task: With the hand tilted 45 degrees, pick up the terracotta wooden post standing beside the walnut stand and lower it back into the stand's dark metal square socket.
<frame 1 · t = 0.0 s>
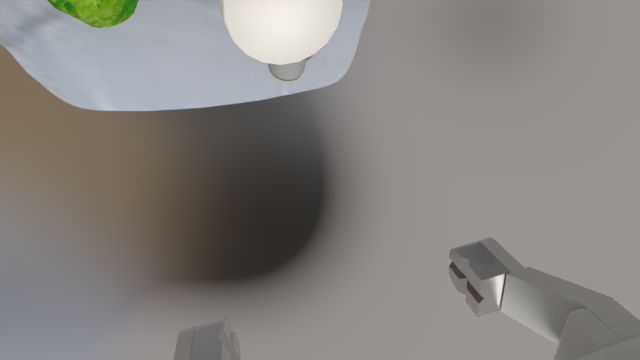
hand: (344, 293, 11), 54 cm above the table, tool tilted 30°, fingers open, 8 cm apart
ceramic mug: (290, 40, 65), on the table
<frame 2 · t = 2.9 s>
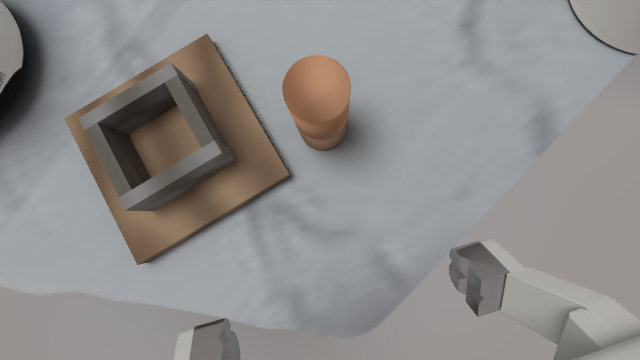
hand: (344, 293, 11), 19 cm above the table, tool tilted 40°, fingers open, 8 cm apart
post: (323, 127, 31), on the table
stand: (181, 148, 32), on the table
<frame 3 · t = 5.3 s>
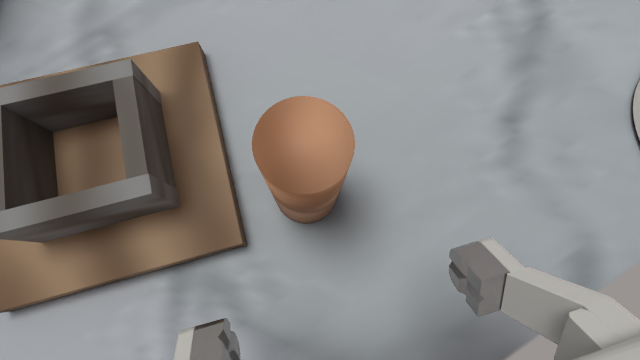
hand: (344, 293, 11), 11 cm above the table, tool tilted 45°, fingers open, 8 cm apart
post: (306, 192, 24), on the table
stand: (117, 168, 24), on the table
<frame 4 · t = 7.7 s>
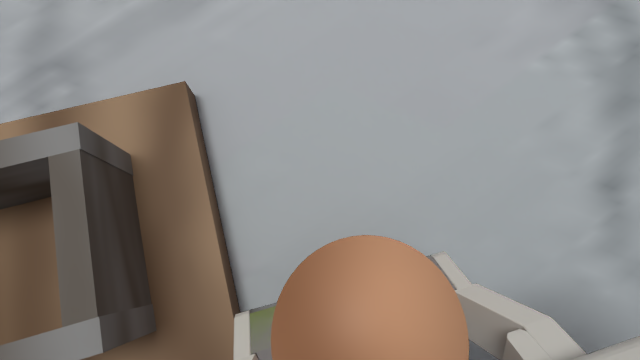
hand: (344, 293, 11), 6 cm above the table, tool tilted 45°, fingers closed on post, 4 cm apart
post: (336, 296, 17), on the table, touching gripper
stand: (70, 262, 17), on the table
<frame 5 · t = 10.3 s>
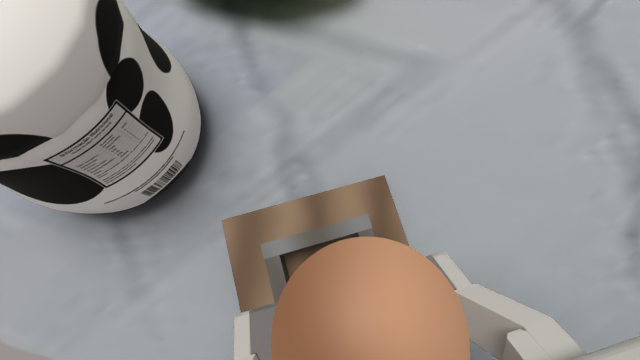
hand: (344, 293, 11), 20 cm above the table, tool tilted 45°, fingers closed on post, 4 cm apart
post: (337, 297, 17), point 14 cm above the table, touching gripper
milk container: (128, 137, 34), on the table
stand: (327, 281, 30), on the table
when the fingers open (8 cm above the table, at t = 13.3 s): post stays where it is, resting on stand.
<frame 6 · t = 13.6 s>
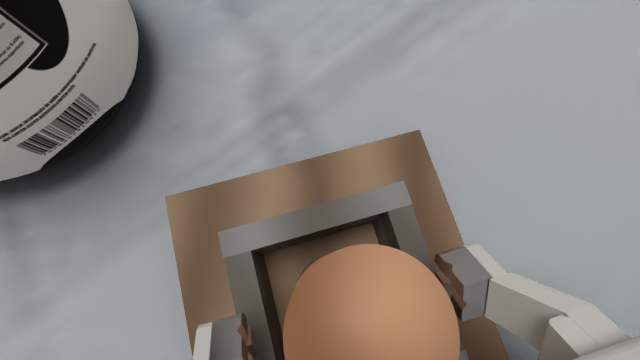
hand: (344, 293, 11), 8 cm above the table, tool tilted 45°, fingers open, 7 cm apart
post: (336, 295, 18), point 2 cm above the table, touching stand
milk container: (34, 77, 23), on the table
stand: (332, 293, 19), on the table
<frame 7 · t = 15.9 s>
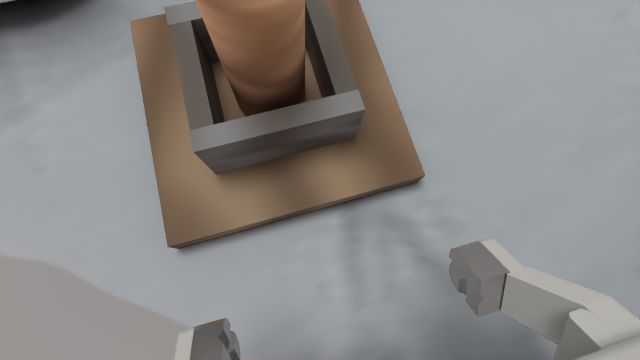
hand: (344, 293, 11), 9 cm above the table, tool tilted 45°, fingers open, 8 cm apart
post: (271, 94, 21), point 2 cm above the table, touching stand
stand: (272, 105, 23), on the table
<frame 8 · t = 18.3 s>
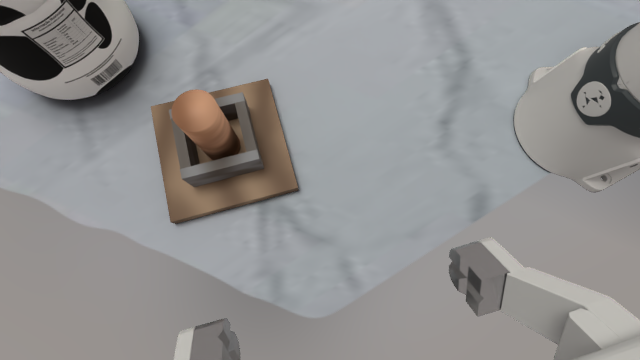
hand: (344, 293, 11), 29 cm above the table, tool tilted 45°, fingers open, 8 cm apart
post: (222, 145, 42), point 2 cm above the table, touching stand
milk container: (88, 55, 47), on the table
stand: (225, 149, 44), on the table
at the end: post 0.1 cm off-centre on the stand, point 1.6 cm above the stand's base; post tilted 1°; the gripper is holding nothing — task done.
